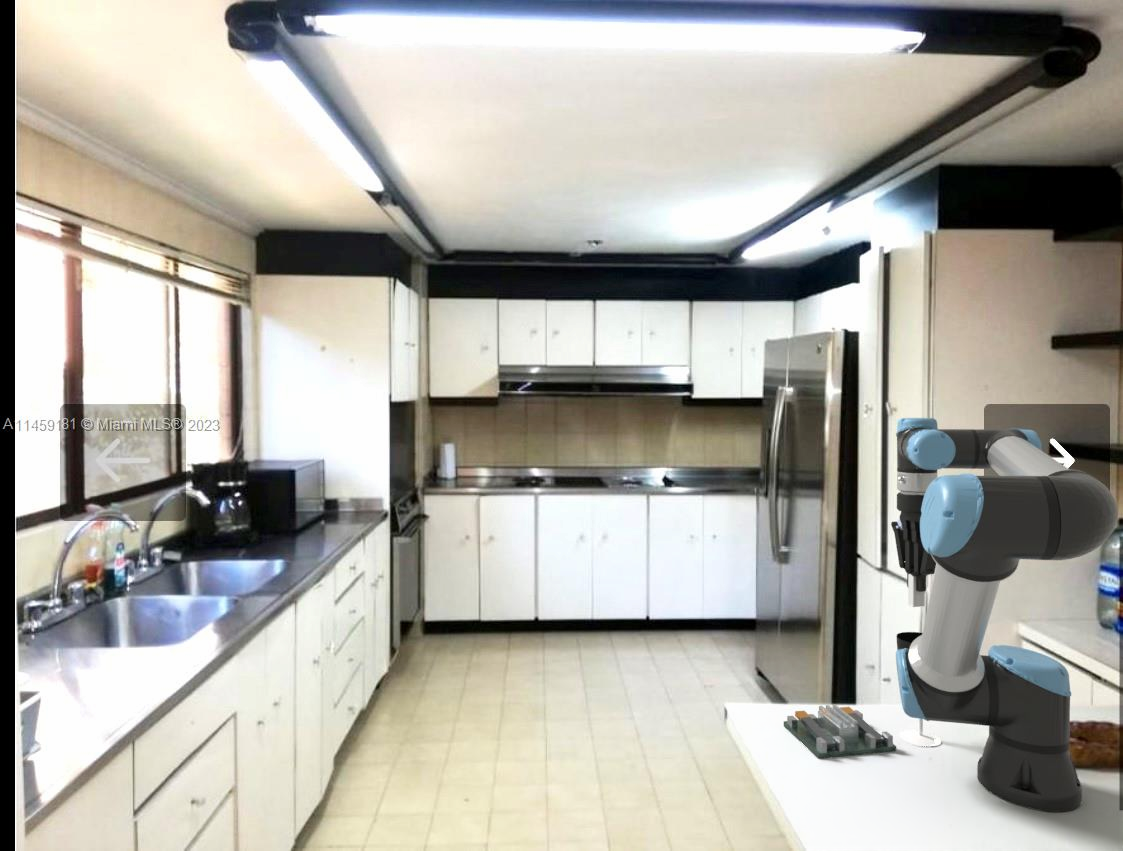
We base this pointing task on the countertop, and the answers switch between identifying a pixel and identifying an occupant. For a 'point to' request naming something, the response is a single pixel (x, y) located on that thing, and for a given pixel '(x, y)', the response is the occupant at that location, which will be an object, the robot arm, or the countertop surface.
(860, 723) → the lever
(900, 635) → the wineglass
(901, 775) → the countertop surface
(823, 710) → the circuit board
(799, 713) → the lever
